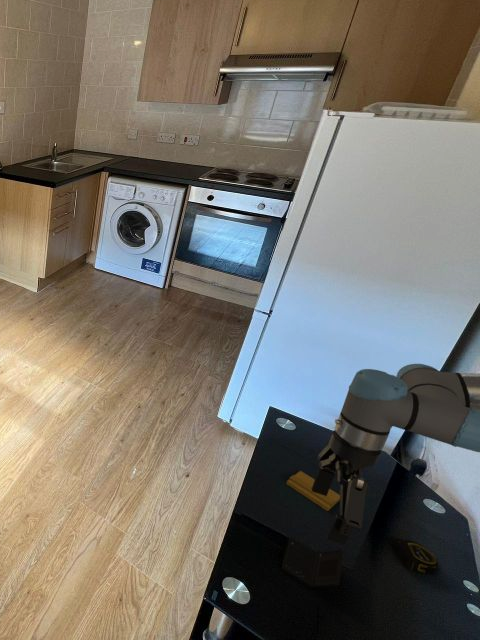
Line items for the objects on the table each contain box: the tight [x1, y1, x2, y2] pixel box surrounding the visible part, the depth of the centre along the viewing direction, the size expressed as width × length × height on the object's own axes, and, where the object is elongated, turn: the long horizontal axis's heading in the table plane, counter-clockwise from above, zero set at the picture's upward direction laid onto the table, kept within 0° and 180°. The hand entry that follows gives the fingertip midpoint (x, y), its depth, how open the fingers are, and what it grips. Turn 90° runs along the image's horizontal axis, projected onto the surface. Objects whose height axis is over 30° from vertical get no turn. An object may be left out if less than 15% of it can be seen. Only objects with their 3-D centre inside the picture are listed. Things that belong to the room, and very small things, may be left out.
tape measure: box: [390, 538, 439, 575], centre depth 97 cm, size 7×7×4 cm
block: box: [285, 470, 340, 512], centre depth 116 cm, size 10×8×2 cm
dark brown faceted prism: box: [280, 537, 344, 591], centre depth 94 cm, size 12×7×10 cm
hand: (326, 515), depth 91 cm, fingers open, 13 cm apart
